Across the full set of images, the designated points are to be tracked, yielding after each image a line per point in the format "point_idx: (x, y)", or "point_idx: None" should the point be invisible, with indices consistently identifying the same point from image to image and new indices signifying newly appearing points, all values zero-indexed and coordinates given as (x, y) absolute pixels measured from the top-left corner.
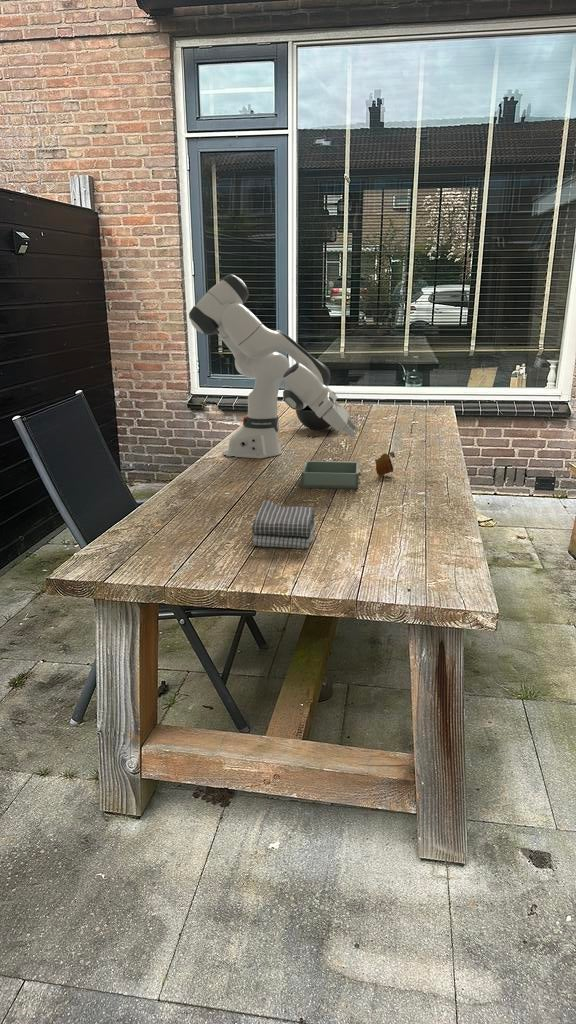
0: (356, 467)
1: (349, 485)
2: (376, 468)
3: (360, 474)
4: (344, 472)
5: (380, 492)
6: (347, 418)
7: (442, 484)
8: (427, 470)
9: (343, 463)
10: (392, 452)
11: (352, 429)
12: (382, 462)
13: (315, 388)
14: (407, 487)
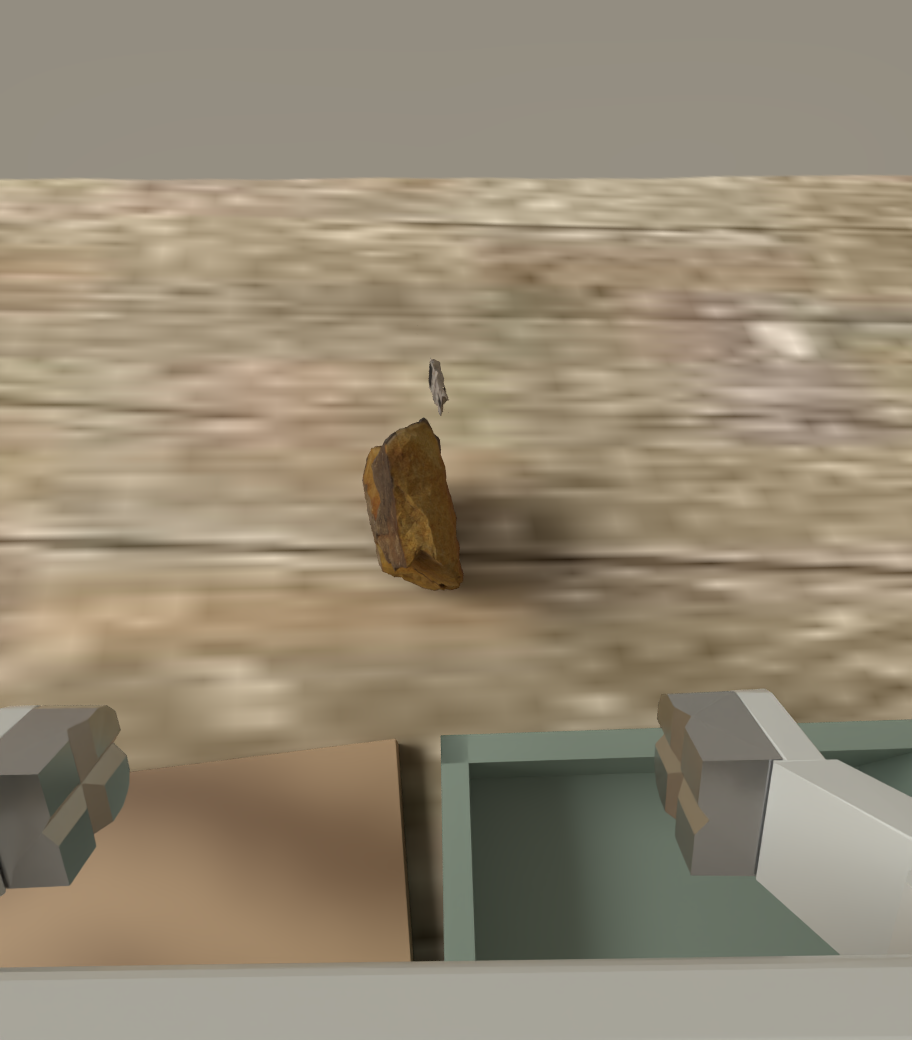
0: None
1: None
2: (460, 577)
3: (397, 742)
4: (474, 913)
5: (873, 565)
6: (385, 989)
7: (564, 245)
8: (253, 302)
9: (473, 938)
10: (436, 369)
11: (101, 803)
12: (450, 504)
13: None
14: (682, 404)
